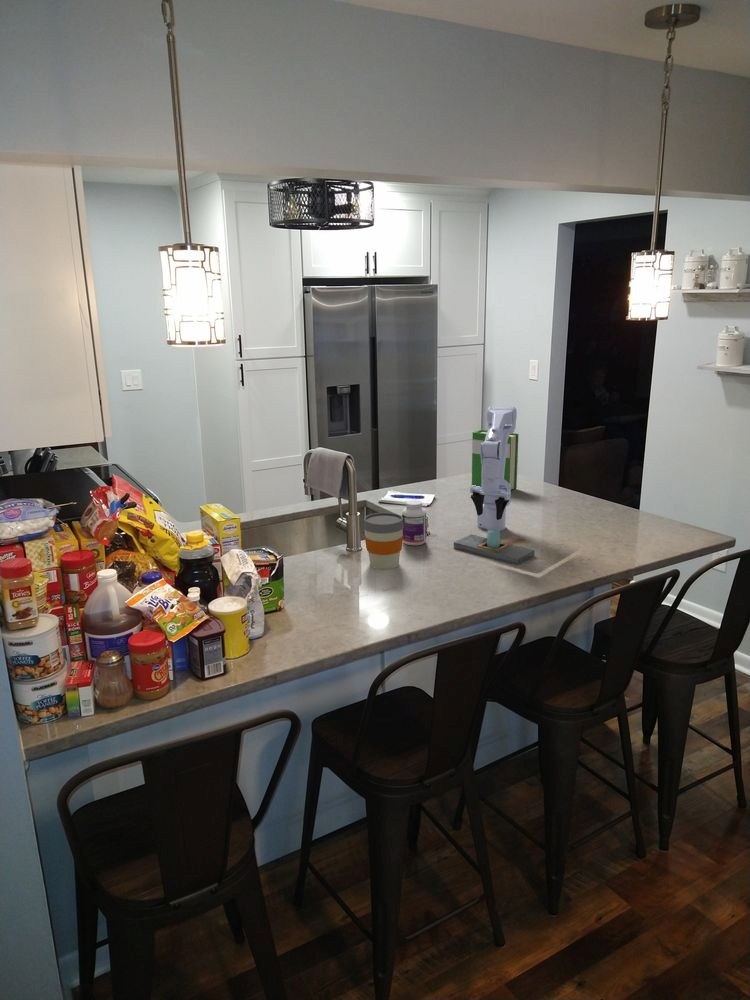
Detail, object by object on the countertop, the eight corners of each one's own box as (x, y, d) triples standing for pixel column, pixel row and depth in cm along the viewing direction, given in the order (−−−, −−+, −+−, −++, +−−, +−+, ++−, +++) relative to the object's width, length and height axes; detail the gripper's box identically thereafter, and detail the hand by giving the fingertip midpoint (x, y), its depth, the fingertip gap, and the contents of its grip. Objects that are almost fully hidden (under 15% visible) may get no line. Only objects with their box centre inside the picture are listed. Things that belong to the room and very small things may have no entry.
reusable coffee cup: (370, 573, 216) (369, 526, 212) (360, 559, 228) (358, 514, 223) (409, 568, 219) (409, 522, 215) (397, 554, 231) (397, 510, 226)
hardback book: (516, 489, 303) (518, 433, 296) (508, 493, 297) (510, 436, 291) (480, 483, 313) (481, 429, 307) (471, 487, 308) (472, 432, 301)
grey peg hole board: (453, 550, 233) (453, 541, 232) (471, 542, 240) (471, 533, 239) (517, 568, 217) (517, 557, 217) (534, 558, 225) (534, 549, 224)
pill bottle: (409, 537, 247) (409, 497, 243) (430, 540, 243) (430, 500, 239) (398, 544, 240) (397, 503, 236) (419, 548, 236) (419, 506, 232)
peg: (484, 555, 229) (484, 531, 226) (491, 551, 232) (491, 528, 229) (494, 557, 226) (495, 534, 224) (501, 554, 229) (502, 530, 227)
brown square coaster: (497, 544, 238) (498, 541, 237) (510, 538, 243) (510, 535, 243) (518, 549, 233) (518, 547, 232) (531, 543, 238) (531, 540, 238)
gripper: (465, 476, 234) (464, 515, 238) (502, 483, 225) (501, 524, 229) (477, 472, 239) (476, 510, 243) (514, 478, 230) (513, 518, 234)
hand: (489, 516), depth 236 cm, fingers open, 7 cm apart
